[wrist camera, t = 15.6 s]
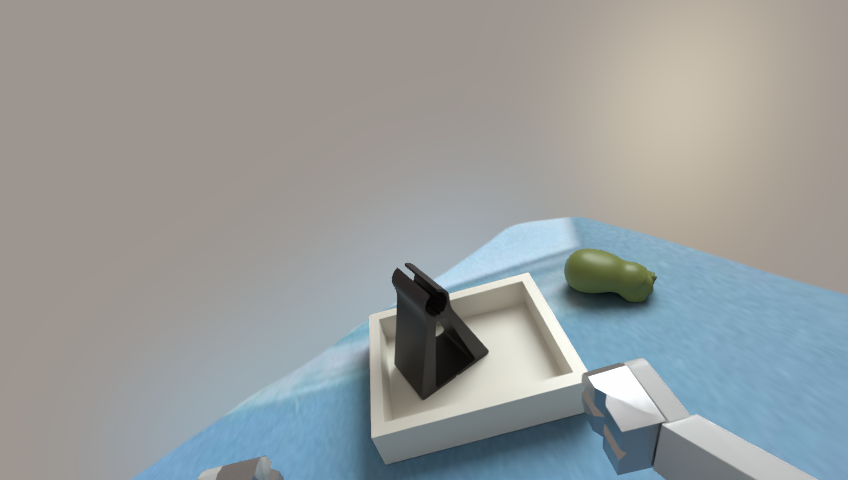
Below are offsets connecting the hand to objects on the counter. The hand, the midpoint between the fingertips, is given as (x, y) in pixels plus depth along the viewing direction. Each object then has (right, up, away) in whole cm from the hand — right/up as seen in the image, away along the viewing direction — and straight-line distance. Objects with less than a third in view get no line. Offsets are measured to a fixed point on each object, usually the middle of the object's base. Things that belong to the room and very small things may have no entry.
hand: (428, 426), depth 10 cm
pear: (+23, -2, +39) cm, 45 cm away
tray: (+5, -10, +34) cm, 36 cm away
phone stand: (+2, -9, +35) cm, 36 cm away
